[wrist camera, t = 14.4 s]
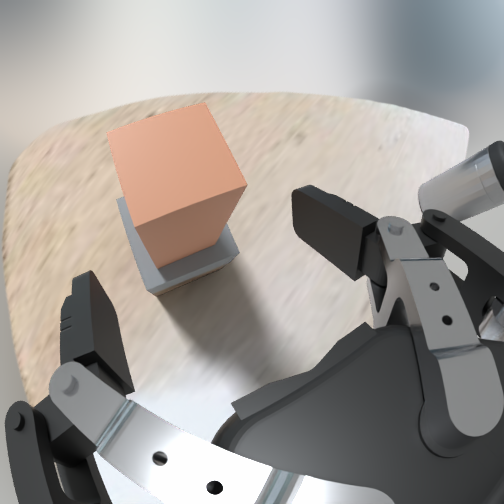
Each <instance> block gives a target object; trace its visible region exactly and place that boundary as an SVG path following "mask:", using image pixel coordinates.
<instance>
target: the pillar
mask: <svg viewBox="0 0 504 504" xmlns="http://www.w3.org/2000/svg"><path fill="white" fill-rule="evenodd" d="M107 137H108V141H109V145H110V149H111V153H112V156H113V160H114V164H115V167H116V171H117V174H118V178H119V181H120V184H121V188H122V191H123V194H124V197H125V200H126V204H127V207H128V210H129V213H130V216H131V219H132V221H133V224H134V227H135V229H136V231H137V233H138V235H139V237H140V239H141V241H142V242H143V244H144V246H145V248H146V250H147V252H148V253H149V255H150V257H151V259H152V261H153V262H154V264H155V266H156V268H157V269H159V268H161V267H163V266H166V265H168V264H170V263H173V262H175V261H177V260H180V259H182V258H184V257H187V256H189V255H192V254H194V253H196V252H199V251H201V250H203V249H206V248H208V247H211V246H213V245H215V244H216V242H217V240H218V238H219V236H220V234H221V233H222V231H223V229H224V227H225V225H226V223H227V221H228V219H229V218H230V216H231V214H232V212H233V210H234V208H235V207H236V205H237V203H238V201H239V199H240V197H241V196H242V194H243V192H244V190H245V188H246V187H247V183H246V181H245V179H244V177H243V175H242V173H241V171H240V169H239V167H238V165H237V163H236V161H235V159H234V157H233V155H232V153H231V151H230V149H229V147H228V145H227V143H226V141H225V139H224V138H223V136H222V134H221V132H220V130H219V128H218V126H217V124H216V122H215V120H214V118H213V116H212V115H211V113H210V111H209V109H208V107H207V105H206V103H205V102H204V103H200V104H196V105H192V106H188V107H184V108H180V109H176V110H172V111H169V112H165V113H162V114H159V115H155V116H152V117H149V118H146V119H143V120H140V121H137V122H134V123H131V124H128V125H125V126H122V127H120V128H117V129H114V130H112V131H109V132H107Z"/></svg>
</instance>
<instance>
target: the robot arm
mask: <svg viewBox="0 0 504 504" xmlns="http://www.w3.org/2000/svg"><path fill="white" fill-rule="evenodd" d="M419 202H420V206H421V209H422V211H423V215H422V219H421V223H416V224H410V223H409V222H408V221H406V220H404V219H402V218H399V217H394V216H386V217H383V218H381V219H378V218H376V217H375V216H373V215H371V214H369V213H368V212H366V211H364V210H362V209H361V208H359V207H357V206H353V204H351V203H350V202H348V201H347V202H346V200H344V199H342V198H340V197H338V196H336V195H333V194H329V193H326V192H324V191H322V190H320V189H318V188H317V187H315V186H313V185H307V186H304V187H301V188H298V189H295V190H294V191H293V192H292V216H293V227H294V230H295V232H296V234H297V235H298V237H299V238H300V239H302V240H303V241H304V242H306V243H307V244H308V245H310V246H311V247H312V248H313V249H315V250H316V251H317V252H319V253H320V254H321V255H322V256H324V257H325V258H326V259H327V260H329V261H330V262H331V263H333V264H334V265H335V266H336V267H338V268H339V269H340V270H341V271H343V272H344V273H345V274H346V275H348V276H349V277H350V278H351V279H352V280H354V281H356V280H357V279H359V278H361V277H362V276H364V275H366V276H367V277H368V278H367V289H368V293H369V299H370V304H371V309H372V315H373V322H374V326H373V329H372V328H371V327H370V326H369V325H368V324H367V323H366V322H364V323H363V324H361V325H360V326H359V327H357V328H356V329H355V330H353V331H352V332H350V333H349V334H347V335H346V336H345V337H343V338H342V339H340V340H339V341H338V342H337V343H336V344H335V345H334V346H333V347H332V349H331V350H330V351H329V352H328V353H327V354H326V355H325V356H324V358H323V359H322V360H321V361H320V362H319V363H318V364H317V365H316V366H315V367H314V368H313V369H312V370H310V371H308V372H305V373H302V374H299V375H295V376H292V377H289V378H286V379H283V380H279V381H276V382H272V383H269V384H267V385H265V386H263V387H261V388H260V389H258V390H256V391H254V392H252V393H250V394H248V395H246V396H244V397H242V398H240V399H238V400H236V401H234V402H232V403H231V404H232V406H233V408H234V409H235V411H236V412H235V413H234V414H233V415H232V416H231V417H230V418H228V419H227V421H226V422H225V423H224V424H223V425H222V426H221V427H220V429H219V430H218V432H217V433H216V435H215V436H214V438H213V440H212V442H211V444H210V443H208V442H206V441H204V440H202V439H200V438H198V437H195V436H193V435H191V434H190V433H188V432H186V431H184V430H182V429H180V428H178V427H176V426H174V425H172V424H171V423H169V422H167V421H165V420H164V419H162V418H160V417H158V416H157V415H155V414H153V413H152V412H150V411H148V410H147V409H145V408H144V407H142V406H140V405H139V404H137V403H136V402H134V401H132V400H128V399H126V395H127V394H130V393H133V392H135V389H134V386H133V383H132V379H131V375H130V372H129V368H128V364H127V360H126V356H125V351H124V347H123V343H122V338H121V333H120V328H119V323H118V318H117V314H116V311H115V309H114V306H113V304H112V302H111V301H110V299H109V297H108V296H107V294H106V293H105V291H104V289H103V288H102V286H101V284H100V283H99V281H98V279H97V277H96V276H95V274H94V273H93V271H91V270H90V271H88V272H86V273H83V274H81V275H79V276H77V277H75V278H73V280H72V295H70V296H68V297H66V299H65V301H64V304H63V306H62V308H61V323H60V330H61V332H60V363H61V366H60V367H59V368H58V369H57V370H56V371H55V372H54V374H53V375H52V377H51V380H50V383H49V395H48V396H47V397H46V398H44V399H43V400H42V401H41V402H40V403H38V404H37V405H36V406H35V407H32V406H31V405H29V404H28V403H26V402H24V401H17V402H15V403H14V404H13V405H12V406H11V407H10V408H9V410H8V412H7V415H6V419H5V432H6V441H7V449H8V456H9V462H10V468H11V473H12V478H13V482H14V487H15V491H16V494H17V498H18V502H19V504H112V502H111V500H110V497H109V495H108V493H107V490H106V488H105V485H104V483H103V480H102V478H101V475H100V473H99V470H98V467H97V464H96V461H95V458H94V455H93V453H94V452H95V451H97V452H98V454H99V455H100V456H101V457H103V458H104V459H105V460H106V461H107V462H108V463H110V464H111V465H112V466H113V467H114V468H116V469H117V470H118V471H120V472H121V473H122V474H123V475H125V476H126V477H127V478H129V479H130V480H132V481H133V482H134V483H136V484H137V485H139V486H140V487H141V488H143V489H144V490H146V491H147V492H149V493H150V494H152V495H153V496H155V497H157V498H158V499H160V500H161V501H163V502H165V503H166V504H504V252H502V251H501V250H500V249H498V248H497V247H496V246H494V245H493V244H492V243H490V242H489V241H487V240H486V239H485V238H483V237H482V236H480V235H479V234H477V233H476V232H474V231H472V230H471V229H470V228H468V227H467V226H465V225H464V224H462V223H460V221H462V220H465V219H468V218H470V217H473V216H475V215H478V214H480V213H482V212H485V211H488V210H490V209H492V208H495V207H497V206H499V205H502V204H504V142H503V141H496V142H494V143H493V144H491V145H489V146H488V147H486V148H484V149H483V150H481V151H479V152H478V153H476V154H474V155H473V156H471V157H469V158H468V159H466V160H464V161H462V162H461V163H459V164H457V165H455V166H454V167H452V168H450V169H449V170H447V171H445V172H443V173H442V174H440V175H438V176H436V177H434V178H433V179H431V180H429V181H427V182H426V183H424V184H422V185H421V186H420V189H419ZM446 249H448V250H449V251H451V252H452V253H454V254H455V255H456V256H458V257H459V258H460V259H462V260H463V261H464V262H465V263H466V264H467V266H468V274H467V277H466V279H465V281H463V280H462V279H461V278H459V277H458V276H457V275H456V274H454V273H453V272H452V271H450V270H449V269H448V267H447V266H446V263H445V262H444V260H443V257H444V254H445V251H446ZM495 296H496V298H495ZM477 335H478V336H479V337H480V338H478V337H477ZM54 462H55V463H56V464H57V468H58V472H59V475H60V478H61V482H62V485H63V488H64V491H65V493H64V492H63V490H62V488H61V486H60V483H59V479H58V476H57V472H56V469H55V465H54Z"/></svg>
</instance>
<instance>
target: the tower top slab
mask: <svg viewBox="0 0 504 504" xmlns="http://www.w3.org/2000/svg"><path fill="white" fill-rule="evenodd" d="M116 200H117V204H118V207H119V211H120V214H121V217H122V221H123V224H124V227H125V230H126V234H127V237H128V240H129V243H130V246H131V249H132V252H133V255H134V257H135V260H136V263H137V266H138V269H139V271H140V274H141V277H142V279H143V282H144V285H145V287H146V290H147V291H149V292H150V293H152V294H154V293H156V292H158V291H161V290H163V289H166V288H168V287H171V286H173V285H176V284H178V283H181V282H183V281H185V280H188V279H190V278H193V277H195V276H198V275H200V274H203V273H205V272H207V271H210V270H212V269H215V268H217V267H220V266H222V265H225V264H227V263H229V262H231V261H232V260H233V259H234V258H235V257H236V256H237V255H238V254H239V253H240V252H239V250H238V248H237V245H236V243H235V241H234V238H233V236H232V234H231V232H230V229H229V227H228V225H227V223H226V225H225V227H224V229H223V231H222V233H221V234H220V236H219V238H218V240H217V242H216V244H215V245H213V246H211V247H208V248H206V249H203V250H201V251H199V252H196V253H194V254H192V255H189V256H187V257H184V258H182V259H180V260H177V261H175V262H173V263H170V264H168V265H166V266H163V267H161V268H159V269H157V268H156V266H155V264H154V262H153V261H152V259H151V257H150V255H149V253H148V252H147V250H146V248H145V246H144V244H143V242H142V241H141V239H140V237H139V235H138V233H137V231H136V229H135V227H134V224H133V221H132V219H131V216H130V213H129V210H128V207H127V204H126V200H125V197H121V198H119V199H116Z"/></svg>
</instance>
